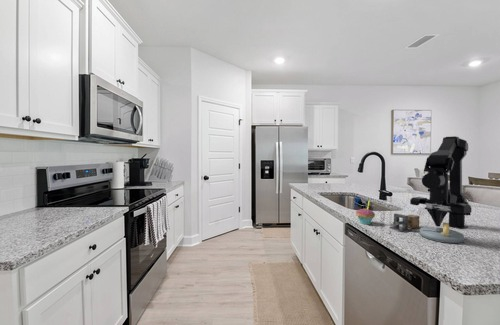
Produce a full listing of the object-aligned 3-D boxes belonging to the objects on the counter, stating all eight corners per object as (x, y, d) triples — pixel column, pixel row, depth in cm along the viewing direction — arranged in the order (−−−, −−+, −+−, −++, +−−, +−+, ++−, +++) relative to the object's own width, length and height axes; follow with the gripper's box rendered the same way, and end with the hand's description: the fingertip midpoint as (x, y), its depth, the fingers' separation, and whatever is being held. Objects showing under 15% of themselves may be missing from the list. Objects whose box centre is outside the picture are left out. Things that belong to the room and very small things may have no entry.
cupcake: (373, 221, 124) (373, 198, 123) (376, 226, 116) (376, 201, 115) (354, 220, 126) (355, 197, 126) (356, 224, 118) (356, 200, 118)
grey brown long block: (411, 225, 117) (411, 214, 117) (419, 226, 113) (419, 216, 113) (388, 229, 110) (388, 218, 110) (395, 231, 107) (395, 220, 106)
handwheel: (425, 240, 96) (425, 222, 96) (416, 230, 109) (416, 214, 109) (470, 245, 91) (470, 226, 90) (455, 233, 103) (455, 217, 103)
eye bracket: (396, 226, 115) (397, 212, 115) (412, 230, 109) (412, 216, 108) (389, 228, 113) (389, 213, 113) (404, 232, 106) (405, 217, 106)
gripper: (480, 188, 91) (478, 230, 91) (425, 183, 108) (425, 218, 108) (463, 190, 86) (462, 234, 86) (409, 184, 103) (408, 221, 103)
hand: (437, 226), depth 96 cm, fingers closed
